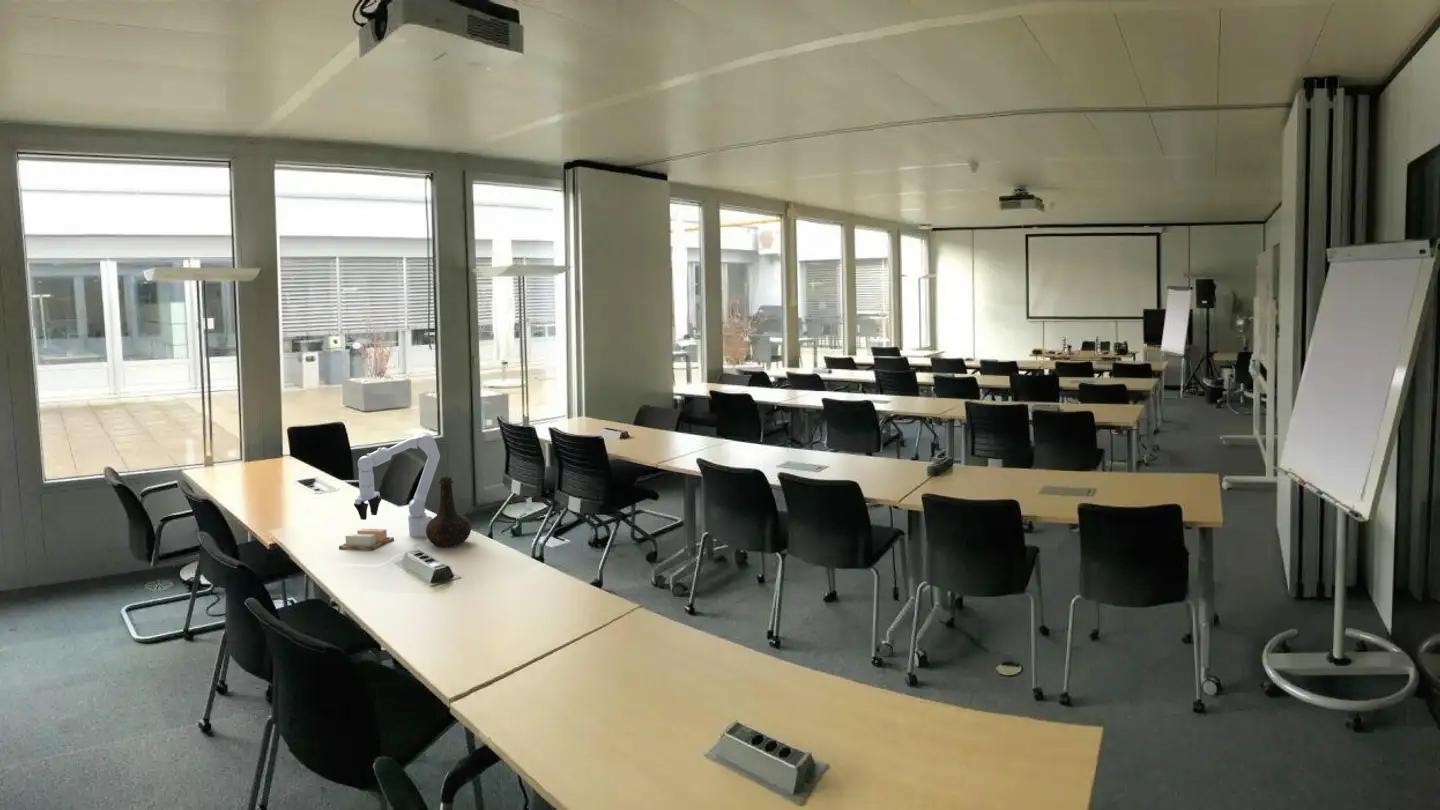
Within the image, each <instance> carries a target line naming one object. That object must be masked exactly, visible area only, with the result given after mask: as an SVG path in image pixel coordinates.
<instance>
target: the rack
mask: <svg viewBox="0 0 1440 810" xmlns="http://www.w3.org/2000/svg"><path fill="white" fill-rule="evenodd" d="M393 541H395V538H394V537H392V536H387V540H385V541H376V545H375V546H373V547H362V546H346V542H345V543H343V544H341V545H339V546H338V549H339V550H351V551H375V550H376V549H379V548H381V547H383V546H385V545H388V544H389V543H391V542H393Z"/></svg>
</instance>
